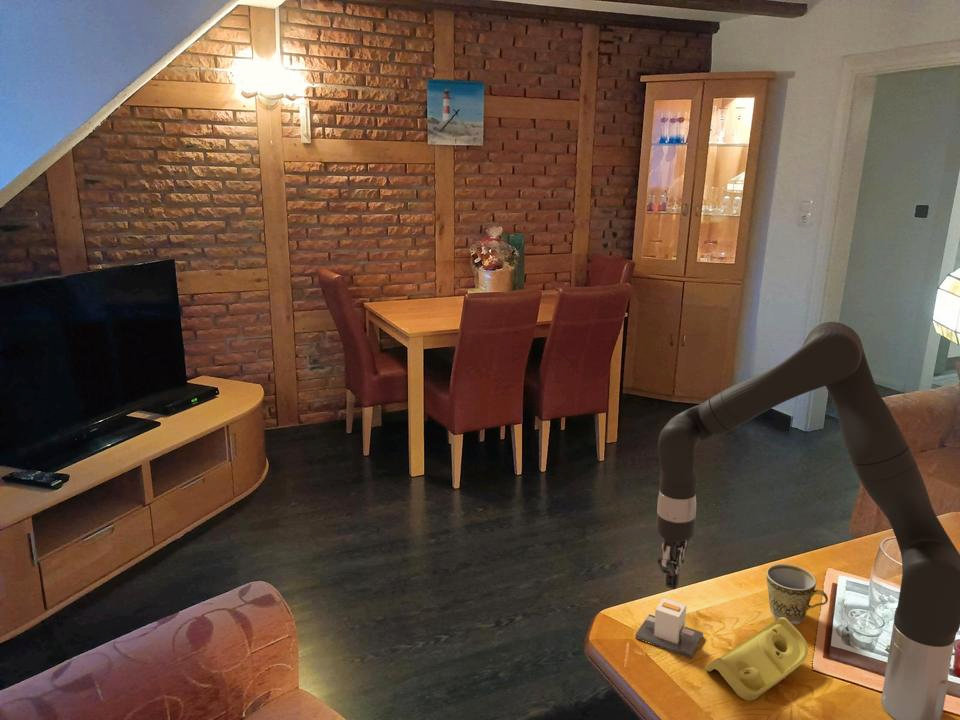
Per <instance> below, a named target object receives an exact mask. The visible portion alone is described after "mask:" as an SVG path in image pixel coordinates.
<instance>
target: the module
mask: <svg viewBox="0 0 960 720" xmlns="http://www.w3.org/2000/svg"><path fill="white" fill-rule="evenodd" d="M654 612H655V613H654V616H655V629H654V636H656V637H659V638H662V639H665V640H668V641H670V642H673V643H676V644H678V642H679V631H680V629H681V628H682V627H683V628H685V627H686V616H687V614H686V613H687V604H684V603H681V602H677V601H675V600H671V599H669V598H665V597H663V598H662V599H661V600H660V602H659V603H658V605H657V607H656V608H655V611H654Z"/></svg>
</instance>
